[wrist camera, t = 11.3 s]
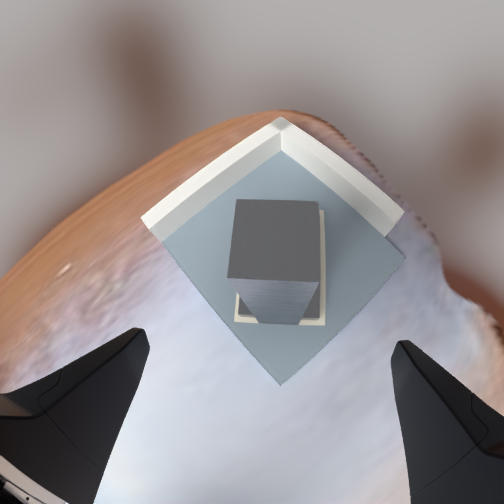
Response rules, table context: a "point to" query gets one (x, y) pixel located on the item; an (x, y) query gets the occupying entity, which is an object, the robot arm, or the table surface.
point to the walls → (256, 153)
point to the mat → (331, 254)
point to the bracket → (276, 260)
